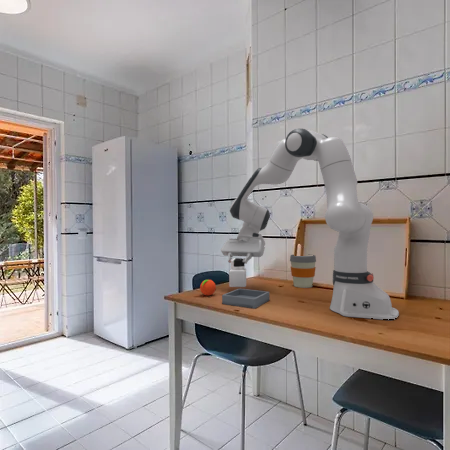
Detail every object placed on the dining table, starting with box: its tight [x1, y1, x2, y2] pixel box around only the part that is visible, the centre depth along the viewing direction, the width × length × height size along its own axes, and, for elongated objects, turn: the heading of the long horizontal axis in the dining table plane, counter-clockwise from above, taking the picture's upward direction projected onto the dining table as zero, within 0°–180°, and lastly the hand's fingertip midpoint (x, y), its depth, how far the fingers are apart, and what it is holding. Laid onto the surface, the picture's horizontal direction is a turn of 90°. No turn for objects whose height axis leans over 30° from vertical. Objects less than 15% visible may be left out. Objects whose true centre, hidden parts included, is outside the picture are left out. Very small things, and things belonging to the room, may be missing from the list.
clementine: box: [199, 279, 217, 297], centre depth 142 cm, size 8×7×7 cm
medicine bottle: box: [228, 257, 247, 288], centre depth 144 cm, size 7×7×12 cm
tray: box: [221, 287, 270, 310], centre depth 130 cm, size 14×14×4 cm
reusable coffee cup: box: [289, 254, 317, 289], centre depth 161 cm, size 12×12×15 cm
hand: (237, 262), depth 144 cm, fingers closed on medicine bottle, 6 cm apart
